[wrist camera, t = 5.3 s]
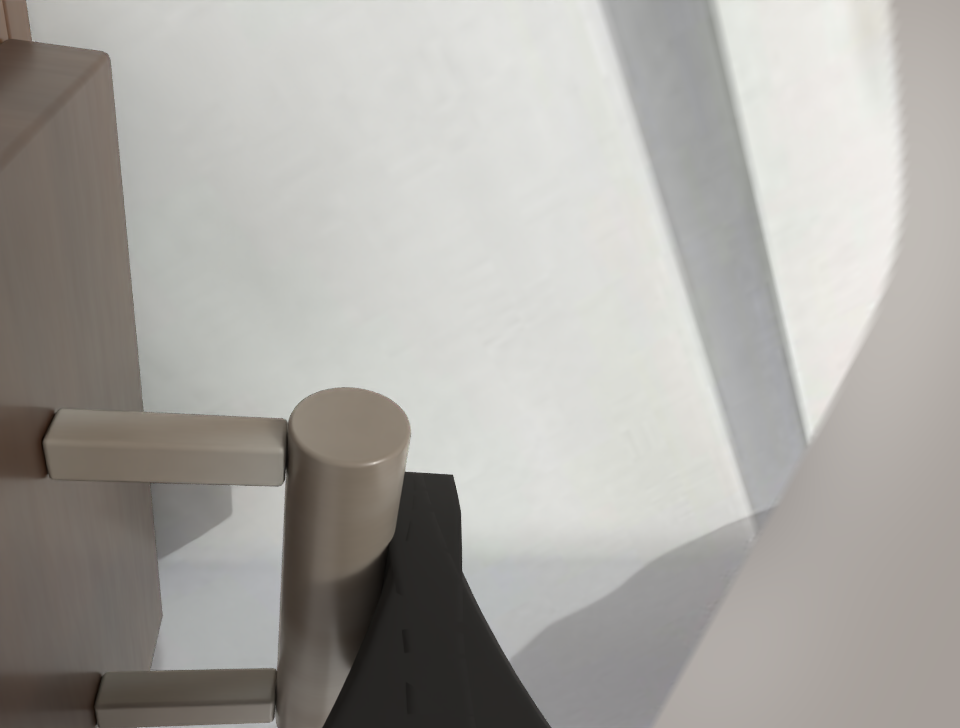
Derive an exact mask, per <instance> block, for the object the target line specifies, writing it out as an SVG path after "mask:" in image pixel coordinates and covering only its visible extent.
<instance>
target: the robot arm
mask: <svg viewBox="0 0 960 728" xmlns="http://www.w3.org/2000/svg"><path fill="white" fill-rule="evenodd" d="M322 728H551V727H550V725H549V724H548V722H547V721H546V719H545V718H544V716H543V715H542V713H541V712H540V711H539V709H538V708H537V706H536V705H535V703H534V701H533V700H532V698H531V697H530V695H529V694H528V692H527V690H526V689H525V687H524V686H523V684H522V683H521V681H520V679H519V678H518V676H517V675H516V673H515V671H514V670H513V668H512V666H511V665H510V663H509V661H508V659H507V658H506V656H505V654H504V652H503V651H502V649H501V647H500V645H499V644H498V642H497V640H496V638H495V636H494V634H493V632H492V631H491V629H490V627H489V625H488V623H487V621H486V620H485V618H484V616H483V614H482V612H481V610H480V608H479V606H478V604H477V602H476V600H475V598H474V596H473V594H472V591H471V589H470V587H469V585H468V583H467V581H466V579H465V576H464V574H463V572H462V535H461V510H460V505H459V499H458V494H457V490H456V486H455V482H454V477H453V475H448V474H432V473H416V472H405V474H404V480H403V486H402V492H401V498H400V504H399V510H398V516H397V522H396V528H395V533H394V536H393V538H392V539H391V541H390V542H389V545H388V551H387V558H386V564H385V570H384V576H383V583H382V589H381V595H380V598H379V600H378V603H377V606H376V608H375V611H374V613H373V616H372V619H371V621H370V624H369V626H368V629H367V632H366V634H365V637H364V639H363V642H362V644H361V646H360V649H359V651H358V653H357V656H356V658H355V660H354V663H353V665H352V667H351V669H350V672H349V674H348V676H347V678H346V680H345V682H344V684H343V687H342V689H341V691H340V693H339V695H338V697H337V699H336V701H335V704H334V706H333V708H332V709H331V711H330V713H329V715H328V717H327V719H326V721H325V723H324V725H323V727H322Z"/></svg>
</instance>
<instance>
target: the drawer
mask: <svg viewBox="0 0 960 728" xmlns="http://www.w3.org/2000/svg"><path fill="white" fill-rule="evenodd" d="M410 437H411V427H410V423H409V420H408V418H407V416H406V414H405V413H404V411H403V410H402V409H401V408H400V407H399V406H398V405H397V404H396V403H395V402H393V401H392V400H390V399H389V398H387V397H385V396H383V395H381V394H379V393H376V392H373V391H369V390H365V389H360V388H349V387H342V388H332V389H326V390H322V391H319V392H316V393H314V394H312V395H310V396H308V397H306V398H305V399H303V400H302V401H301V402H300V403H299V404H298V405H297V406H296V407H295V409H294V410H293V412H292V413H291V415H290V418H289V422H288V423H287V420H285V419H283V418H261V417H240V416H219V415H197V414H176V413H155V412H143V401H142V391H141V380H140V369H139V359H138V348H137V337H136V327H135V316H134V305H133V295H132V284H131V273H130V263H129V252H128V241H127V231H126V220H125V210H124V199H123V188H122V178H121V167H120V156H119V146H118V135H117V124H116V114H115V103H114V92H113V82H112V71H111V61H110V58H109V55H108V54H107V53H105V52H103V51H96V50H89V49H82V48H75V47H68V46H61V45H53V44H46V43H39V42H32V41H25V40H18V39H8V40H6V41H4V42H3V43H1V44H0V728H137V727H160V726H188V725H216V724H244V723H269V722H272V721H273V719H274V717H275V718H276V724H277V727H278V728H322V727H323V725H324V723H325V721H326V719H327V717H328V715H329V713H330V711H331V709H332V708H333V706H334V704H335V701H336V699H337V697H338V695H339V693H340V691H341V689H342V687H343V684H344V682H345V680H346V678H347V676H348V674H349V672H350V669H351V667H352V665H353V663H354V660H355V658H356V656H357V653H358V651H359V649H360V646H361V644H362V642H363V639H364V637H365V634H366V632H367V629H368V626H369V624H370V621H371V619H372V616H373V613H374V611H375V608H376V606H377V603H378V600H379V598H380V595H381V589H382V583H383V576H384V570H385V564H386V558H387V551H388V545H389V542H390V541H391V539H392V538H393V536H394V533H395V528H396V522H397V516H398V510H399V504H400V498H401V492H402V486H403V480H404V474H405V468H406V462H407V455H408V449H409V443H410ZM285 473H286V481H285ZM284 481H285V504H284V526H283V549H282V572H281V594H280V617H279V639H278V662H277V671H276V669H274V668H259V669H211V670H164V671H150V668H151V664H152V659H153V655H154V651H155V646H156V642H157V638H158V634H159V629H160V625H161V621H162V616H163V614H162V603H161V593H160V582H159V572H158V561H157V550H156V540H155V529H154V518H153V508H152V497H151V486H150V483H173V484H209V485H244V486H281V485H282V484H283V482H284ZM275 705H276V707H275Z"/></svg>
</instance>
